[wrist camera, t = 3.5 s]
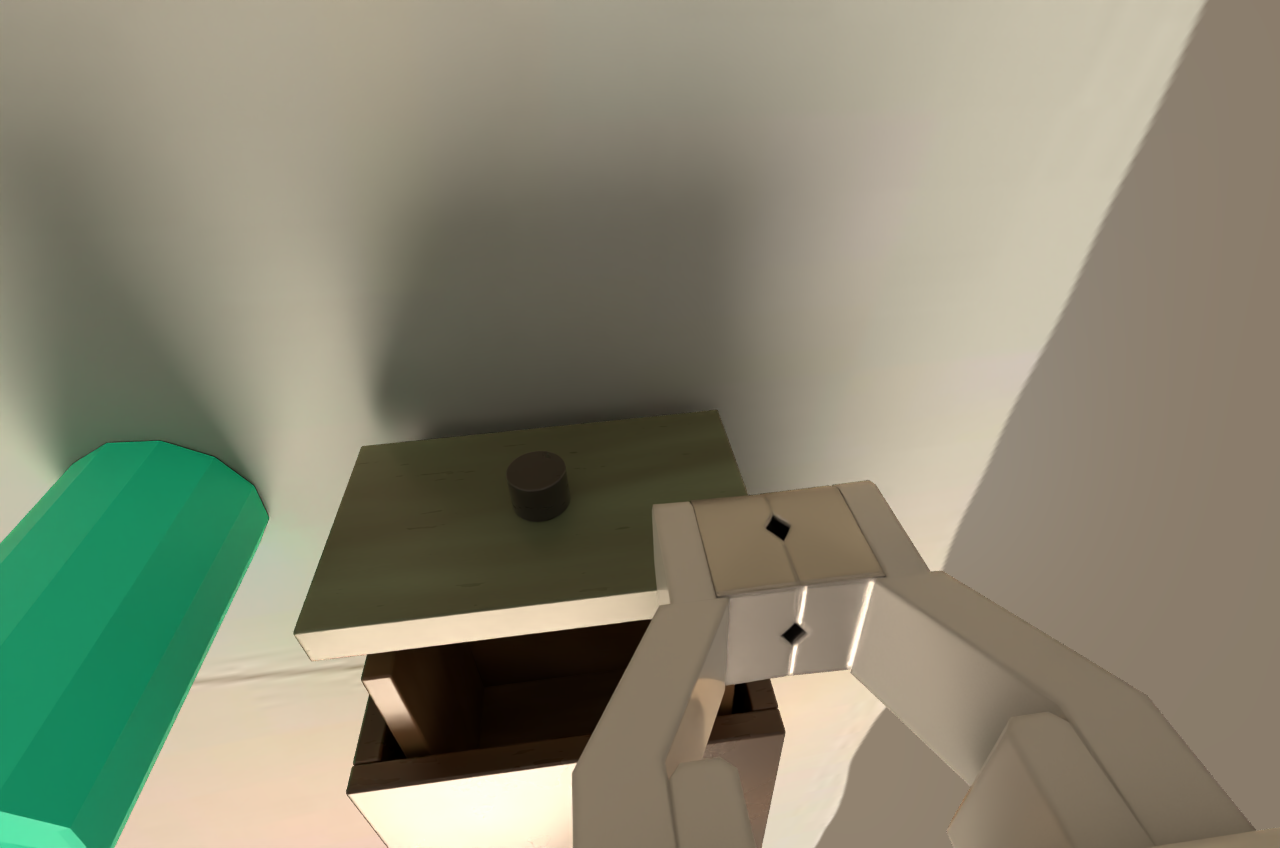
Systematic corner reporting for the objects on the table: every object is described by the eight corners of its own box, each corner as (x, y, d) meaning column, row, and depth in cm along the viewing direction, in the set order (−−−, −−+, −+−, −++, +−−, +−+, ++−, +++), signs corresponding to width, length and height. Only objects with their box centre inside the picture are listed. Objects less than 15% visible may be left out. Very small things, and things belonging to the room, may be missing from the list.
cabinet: (400, 555, 24) (344, 794, 17) (722, 518, 25) (786, 733, 18) (476, 737, 33) (458, 941, 26) (711, 706, 34) (752, 896, 27)
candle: (265, 454, 21) (27, 888, 11) (272, 572, 24) (94, 983, 15) (45, 424, 19) (-447, 901, 10) (86, 556, 22) (-250, 1004, 13)
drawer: (348, 415, 19) (270, 601, 14) (719, 378, 20) (782, 541, 14) (455, 677, 28) (434, 851, 23) (707, 645, 29) (743, 806, 23)
